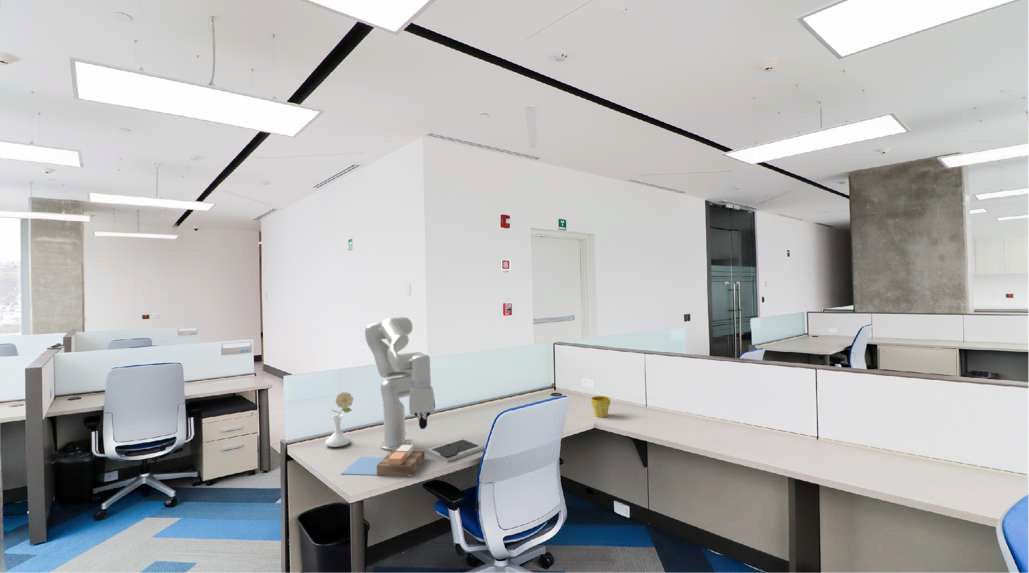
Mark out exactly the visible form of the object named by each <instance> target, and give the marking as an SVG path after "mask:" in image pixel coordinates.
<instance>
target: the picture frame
mask: <svg viewBox="0 0 1029 573" xmlns="http://www.w3.org/2000/svg"><path fill="white" fill-rule="evenodd" d="M484 446H485V445H484V444H481V443H478V442H475V441H473V440H470V439H467V438H465V437H461V438H459V439H455V440H452V441H450V442H445V443H442V444H439V445H436V446H433V447H429V448H427V449H426V454H428V455H430V454H431V455H430V456H432V455H433V456H432V457H434V456H435V458H436V457H438V458H437V459H439V458H440V459H439V460H441V459H442V460H441V461H443V460H444V461H443V462H445V461H449V462H451V461H450V460H452V461H454V460H453V459H455V460H457V459H456V458H458V459H461V458H463V457H465V456H466V455H467V456H469V455H472V454H475V453H478V452H481V451H483V449H484ZM484 450H485V449H484ZM460 457H461V458H460Z"/></svg>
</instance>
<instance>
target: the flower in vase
mask: <svg viewBox="0 0 1029 573" xmlns="http://www.w3.org/2000/svg"><path fill="white" fill-rule="evenodd" d="M353 400H354V397H353V395H351V392H347V391H345V392H344V391H343V392H340V394H337V395H336V398H335V404H336V405H337V407H338V408H341V410H340V411H337V410H333V409H331V411H332V412H334V413H337V414H334V415H331V418H332V419H333V422H334V431H333V433H332V434H331V435H330V436H329V437H328V438H327V439H326V440H325V446H327V447H331V448H337V447H343V446H346V445H347V444H349V443H350V442H351V441H352V439H351V437H350V436H349V435H348V434H345V433H344V432H343V431H342V429H341V421H342V418H343V417H344V415H343V414H341V413H342V411H343V412H344V413H345V414H346V413H350V412H352V409H351V408H350V407H351V406H352V404H353V402H354V401H353Z"/></svg>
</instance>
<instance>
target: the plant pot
mask: <svg viewBox="0 0 1029 573" xmlns="http://www.w3.org/2000/svg"><path fill="white" fill-rule="evenodd" d="M590 403H591V406H592V409H593V413H594V417H596V418H606V417H608V414H609V407H610V406H611V398H610V397H608V396H606V395H605V396H604V395H597V396H596V395H595V396H592V397H591V399H590Z"/></svg>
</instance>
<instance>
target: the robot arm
mask: <svg viewBox="0 0 1029 573" xmlns="http://www.w3.org/2000/svg"><path fill="white" fill-rule="evenodd" d="M412 331H413V323H412V321H411V319H409V318H408V317H404V316H403V317H402V316H400V317H391V318H386V319H384V320H383V321H378V322H377V321H376V322H373V323H370V324H367V325H366V327H365V330H364V335H365V336H364V337H365V341H366V343H367V346H368V347H369V348H370V351H371V352H372V354H373V357H374V361H375V364H376V368H377V371H378V373H379V376H380V377H381V378H383V379H385V380H383V381H382V383H381V384H380V393H381V398H382V406H383V407H382V408H383V433H384V434H383V435H384V436H383V440H384V441H383V442H381V444H380V448H381V449H383V450H385V451H392V450H393V449H398V448H399V447H400V446H401V445H410V441H409V440H408V439H406V435H407V432H406V421H405V420H406V418H405V412H406V411H405V406H404V404H403V403H402V401H401V400H400V399H401V398H406V397H408V398H409V399H408V400H409V401H408V410H409V414H410V415H414V416H415V417H417V420H418V426H419V429H420V430H422V429H423V430H425V429H426V428H427V426H428V417H430V416H431V415H434V414H436V401H435V393H434V388H433V386H432V384H431V383H432V382H431V381H432V380H431V378H432V377H431V358H430V356H429V355H428V354H424V353H422V352H421V351H419V352H418V351H417V352H409V353H407V352H405V353H400V354H399V353H398V352H401V350H404V349H405V348H406V347H407V345H408V344H409V336H408V335H410V334H411V333H412ZM383 340H387V342H388V344H387V343H386V342H384V341H383Z"/></svg>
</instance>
